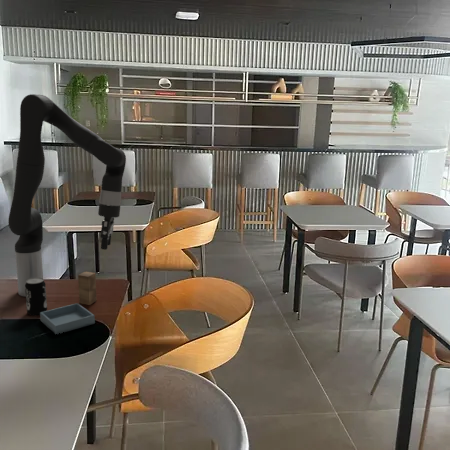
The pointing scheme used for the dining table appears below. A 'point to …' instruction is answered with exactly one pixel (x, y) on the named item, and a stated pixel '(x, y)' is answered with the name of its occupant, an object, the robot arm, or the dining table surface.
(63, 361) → the dining table surface
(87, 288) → the wooden block
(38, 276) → the robot arm
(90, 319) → the box
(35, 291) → the beverage can
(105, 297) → the dining table surface
